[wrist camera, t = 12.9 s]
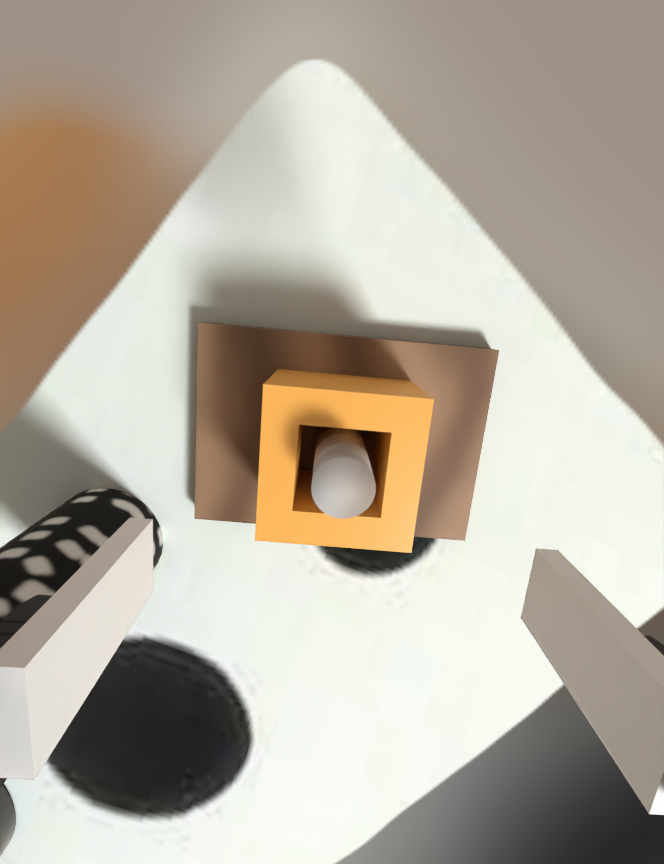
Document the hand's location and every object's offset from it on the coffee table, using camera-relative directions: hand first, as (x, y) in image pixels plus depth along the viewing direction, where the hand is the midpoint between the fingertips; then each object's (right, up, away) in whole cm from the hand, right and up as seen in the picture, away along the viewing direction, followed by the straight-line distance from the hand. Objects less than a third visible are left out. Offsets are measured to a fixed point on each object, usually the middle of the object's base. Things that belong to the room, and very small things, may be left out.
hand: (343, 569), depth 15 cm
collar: (0, +4, +16) cm, 17 cm away
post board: (0, +5, +17) cm, 18 cm away
